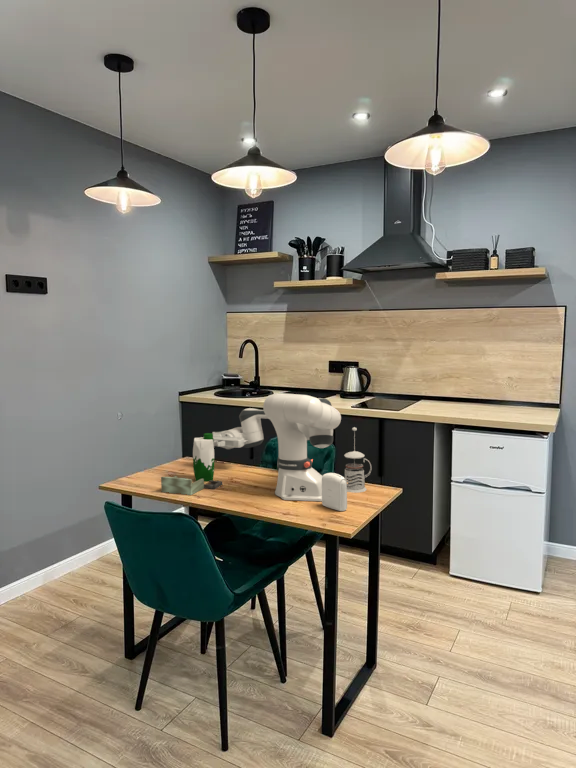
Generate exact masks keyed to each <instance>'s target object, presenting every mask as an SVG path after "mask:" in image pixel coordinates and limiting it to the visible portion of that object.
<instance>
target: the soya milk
mask: <svg viewBox="0 0 576 768" xmlns="http://www.w3.org/2000/svg"><path fill="white" fill-rule="evenodd" d="M213 440H214V439H213V432H212V433H211V432H206V433H203V437H202V436H200V437H194V438H193V447H192V467H193V474H194V475H193V476H194V480H195V482H196V481H198V480H200V479H204V483H206V482H207V483H208V482H209V481H210V480H212V481H214V475H215V449H214V448H215V446H214V445H213Z"/></svg>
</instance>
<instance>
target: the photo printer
mask: <svg viewBox="0 0 576 768" xmlns="http://www.w3.org/2000/svg"><path fill="white" fill-rule="evenodd" d="M322 476H323V477H322V501H321V505H322V506H324V507H326V508H329V509H332V510H335V511H340V512H344V511H347V509H348V492H347V484H348V482H347V481H348V480H347V481H346V479H345V476H343V475H341V474H339V473H335V472H327V473H324V474H322Z"/></svg>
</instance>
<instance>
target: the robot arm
mask: <svg viewBox="0 0 576 768" xmlns="http://www.w3.org/2000/svg"><path fill="white" fill-rule="evenodd" d="M262 407H263V408H262V409H259V408H254V407H252V408H251V407H249V408H245V409H242V410H241V412H240V414H239V416H238V418H239V421H240V425H241V426H237V427H234V428H231V429H228V430H221V431H212V433H213V439H214V440H213V445H214V447H216V448H217V447H220V448H223V449H225V450H231V449H234V448H235V449H236V448H238V449H239V448H247V449H248V448H249V449H250V448H254V447H257V446H259V445H261V444H262V443H263V441H264V440H265V438H264V431H263V427H262V420H261V419H265V420H266V419H268V420H269V421H270V422H271V423H272V426H273V427H274V430H275V433H276V437H277V444H278V445H277V446H278V457H277V465H276V466H277V473H278V474H277V482H276V483H277V484H276V487H275V491H274V494H275V496H277V497H280V499H282V500H284V501H306V502H308V501H309V502H322V477H323V474H321V473H320V472H318V471H317V470H316V469H315V468H313V467H312V466H313V460H314V459H313V458H312V459H310V458H309V457H308V441H309V443H310V445H312V446H313V447H315V448H319V449H324V448H325V449H326V448H328V447H330V446H332V444H333V442H334V430H335V429H336V428H338V427H339V426H340V424H341V422H342V421H341V420H342V415H341V413H340V411H339V410H338V409H336V407H334V406H333V405H332V402H331V401H330V400H329V399H326V398H321V397H318V398H317V397H315V396H311V395H308V394H299V393H298V394H297V393H296V394H294V393H285V392H283V393H282V392H280V393H279V392H278V393H274V394H273V393H272V394H269V395H268V396H267V397H266V398H265V399H264V401H263V405H262Z"/></svg>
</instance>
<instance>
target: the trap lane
mask: <svg viewBox="0 0 576 768" xmlns="http://www.w3.org/2000/svg"><path fill="white" fill-rule="evenodd" d="M160 481H161V483H160V488H161V493H166V492H169V493H168V494H176V493H181V494H180V495H185V494H187V495H188V496H192V495H194V494H196V493H198V492H200V491H202V490H203V489H206V490H216V489H218V488H220V487H222V486H223V481H221V480H220V481H219V480H213V481H212V480H210V481H209V482H207V483H206V482H204V479H200V480H198V481H196V480H195V481H194V482H193V479H191V478H187V477H178V475H177V476H176V475H174V476H172V477H171V476H161V477H160ZM221 485H222V486H221ZM219 486H220V487H219ZM187 495H186V496H187Z"/></svg>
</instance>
